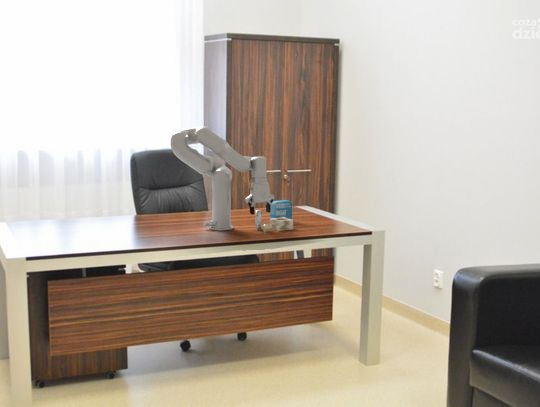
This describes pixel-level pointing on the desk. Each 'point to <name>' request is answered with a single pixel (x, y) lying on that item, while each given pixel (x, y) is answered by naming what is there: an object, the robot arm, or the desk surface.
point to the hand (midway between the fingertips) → (260, 213)
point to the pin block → (281, 224)
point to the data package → (281, 209)
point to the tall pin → (258, 219)
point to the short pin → (266, 228)
